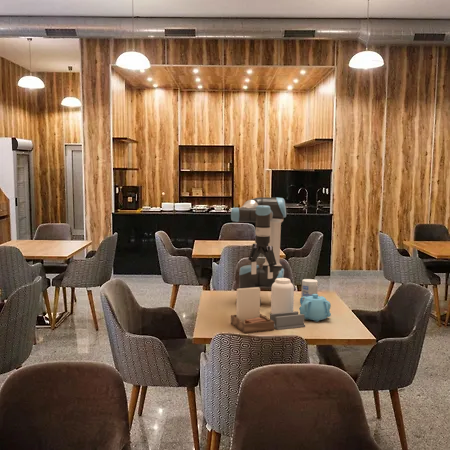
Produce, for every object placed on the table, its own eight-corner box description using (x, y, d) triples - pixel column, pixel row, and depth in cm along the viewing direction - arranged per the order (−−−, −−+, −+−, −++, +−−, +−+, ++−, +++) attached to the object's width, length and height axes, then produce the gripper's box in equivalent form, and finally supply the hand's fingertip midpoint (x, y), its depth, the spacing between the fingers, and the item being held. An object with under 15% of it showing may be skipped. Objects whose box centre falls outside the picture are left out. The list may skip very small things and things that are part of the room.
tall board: (236, 322, 271) (236, 288, 269) (257, 320, 275) (257, 287, 274) (238, 324, 268) (239, 289, 266) (259, 322, 272) (260, 288, 271)
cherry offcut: (245, 323, 264) (245, 319, 264) (259, 320, 269) (259, 317, 269) (252, 326, 259) (252, 322, 259) (266, 323, 264) (266, 320, 264)
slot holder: (268, 324, 272) (268, 313, 271) (295, 321, 278) (295, 310, 277) (277, 329, 263) (277, 318, 262) (305, 326, 268) (305, 315, 268)
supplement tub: (301, 305, 312) (301, 281, 311) (300, 302, 322) (301, 278, 320) (317, 306, 311) (318, 282, 310) (316, 302, 320) (317, 279, 319)
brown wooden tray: (230, 323, 272) (230, 315, 272) (258, 320, 278) (258, 312, 278) (244, 333, 256) (245, 324, 255) (274, 330, 262) (274, 321, 261)
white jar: (278, 309, 303) (279, 275, 301) (297, 313, 295) (298, 278, 293) (266, 313, 293) (267, 278, 291) (285, 318, 285) (286, 281, 283)
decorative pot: (331, 323, 276) (332, 298, 275) (301, 322, 277) (302, 297, 275) (327, 315, 292) (328, 291, 291) (298, 314, 293) (299, 290, 292)
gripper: (242, 233, 276) (241, 273, 278) (272, 238, 256) (271, 281, 258) (253, 232, 281) (252, 271, 282) (284, 237, 260) (283, 279, 262)
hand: (261, 276), depth 270 cm, fingers open, 13 cm apart
